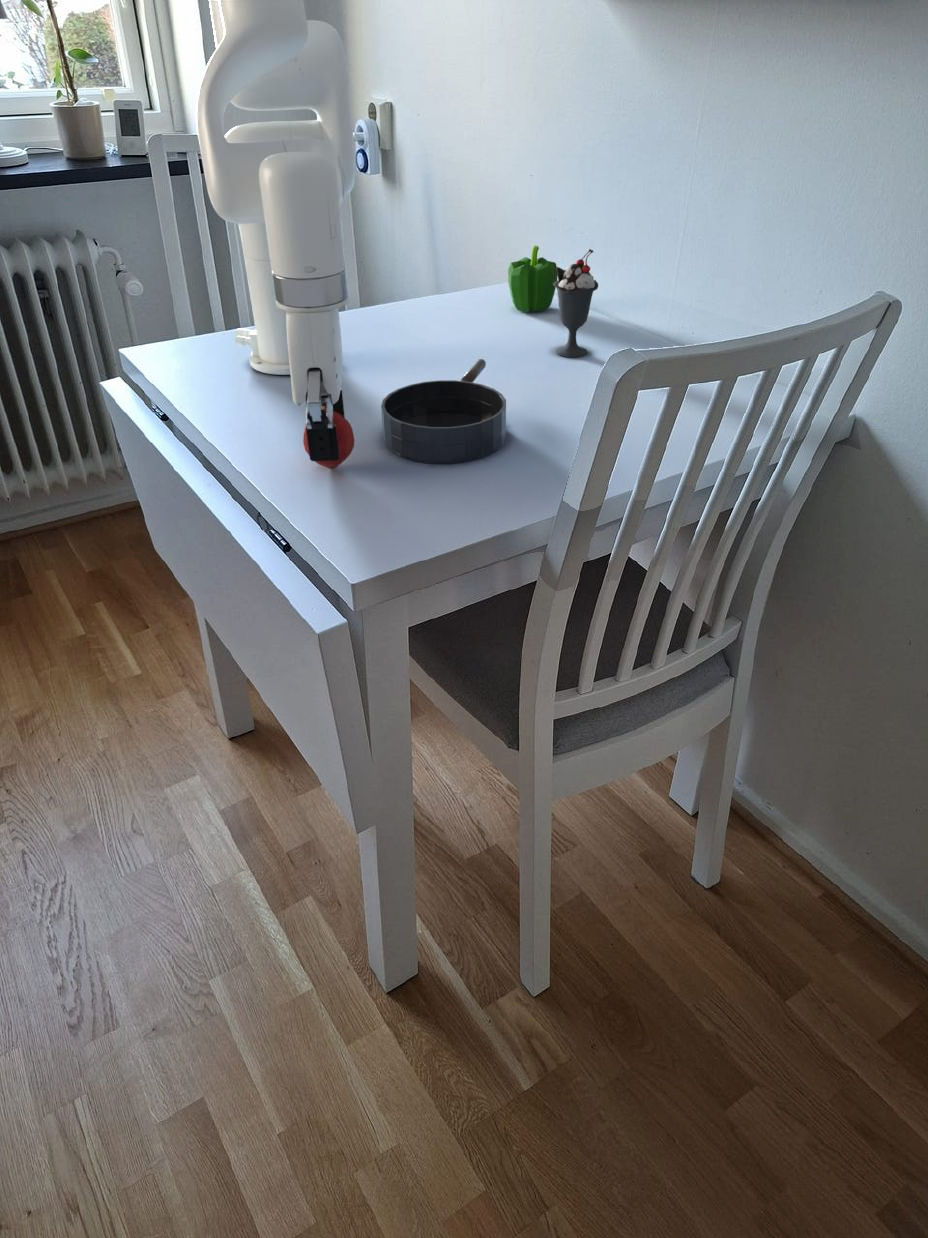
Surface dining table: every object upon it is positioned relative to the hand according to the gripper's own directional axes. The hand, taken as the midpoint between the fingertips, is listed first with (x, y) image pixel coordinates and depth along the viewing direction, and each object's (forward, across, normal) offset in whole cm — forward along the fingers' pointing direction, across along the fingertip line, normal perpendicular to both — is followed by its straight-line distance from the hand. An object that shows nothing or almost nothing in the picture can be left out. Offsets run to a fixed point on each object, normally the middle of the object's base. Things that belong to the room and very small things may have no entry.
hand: (328, 440), depth 100 cm
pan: (+4, -8, +14) cm, 16 cm away
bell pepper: (+4, -60, +30) cm, 67 cm away
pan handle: (+1, -19, +18) cm, 26 cm away
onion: (+4, 0, 0) cm, 4 cm away
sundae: (+4, -37, +34) cm, 51 cm away
